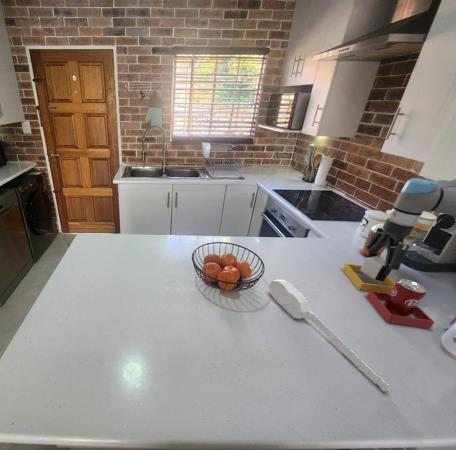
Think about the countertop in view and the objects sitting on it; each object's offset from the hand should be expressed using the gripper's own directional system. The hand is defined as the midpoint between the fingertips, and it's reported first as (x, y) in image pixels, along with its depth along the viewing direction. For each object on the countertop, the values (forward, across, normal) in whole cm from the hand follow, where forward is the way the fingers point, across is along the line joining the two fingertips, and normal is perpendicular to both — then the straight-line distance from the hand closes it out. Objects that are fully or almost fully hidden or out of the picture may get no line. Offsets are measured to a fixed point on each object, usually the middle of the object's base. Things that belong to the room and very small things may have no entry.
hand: (372, 273), depth 98 cm
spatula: (+5, +32, -32) cm, 46 cm away
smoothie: (+5, -24, +13) cm, 27 cm away
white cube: (0, 0, 0) cm, 0 cm away
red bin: (+5, +16, 0) cm, 17 cm away
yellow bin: (+5, 0, 0) cm, 5 cm away
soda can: (+5, +16, 0) cm, 17 cm away
